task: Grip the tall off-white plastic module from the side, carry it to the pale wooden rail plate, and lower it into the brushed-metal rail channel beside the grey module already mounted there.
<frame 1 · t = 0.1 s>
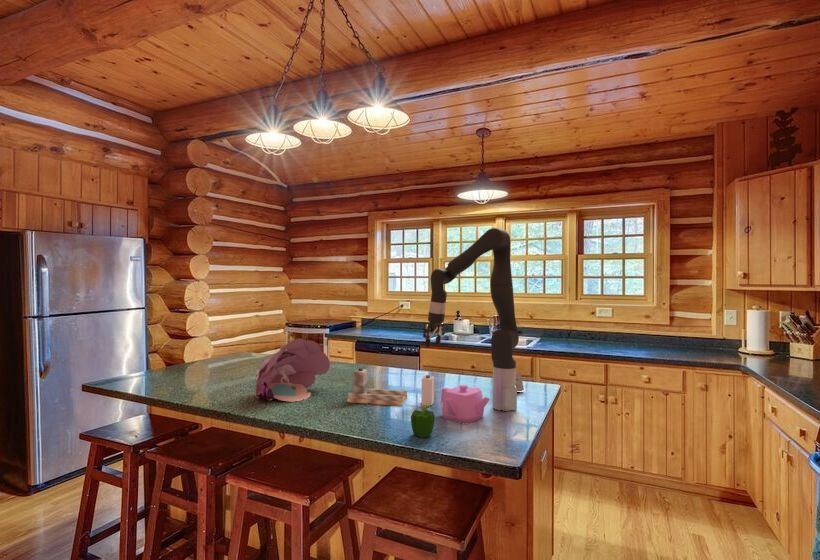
hand: (432, 345, 200), 22 cm above the worktop, tool pointing down, fingers open, 8 cm apart
electrical switch: (512, 392, 205), on the worktop
teakettle: (463, 418, 166), on the worktop
module: (427, 403, 184), on the worktop
bell pepper: (422, 435, 146), on the worktop
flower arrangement: (289, 396, 193), on the worktop
rail plate: (377, 400, 188), on the worktop
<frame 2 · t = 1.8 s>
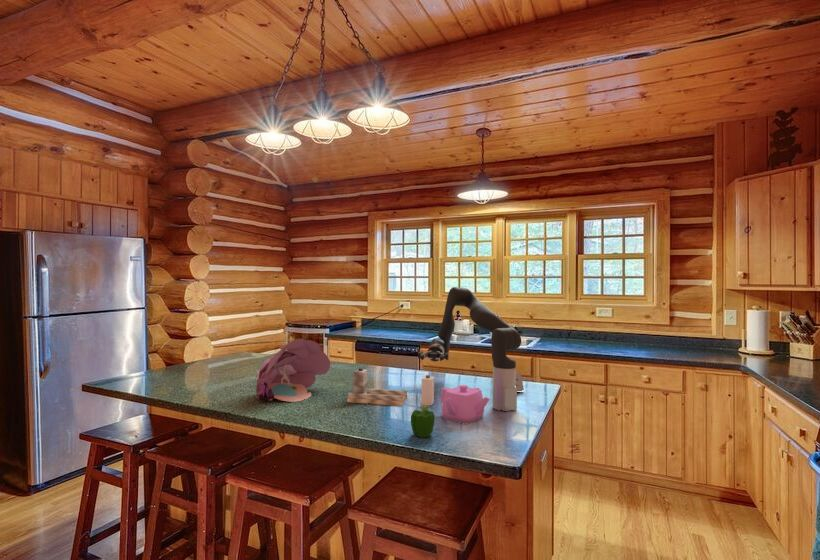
hand: (431, 358, 195), 17 cm above the worktop, tool horizontal, fingers open, 8 cm apart
nothing on the worktop moved.
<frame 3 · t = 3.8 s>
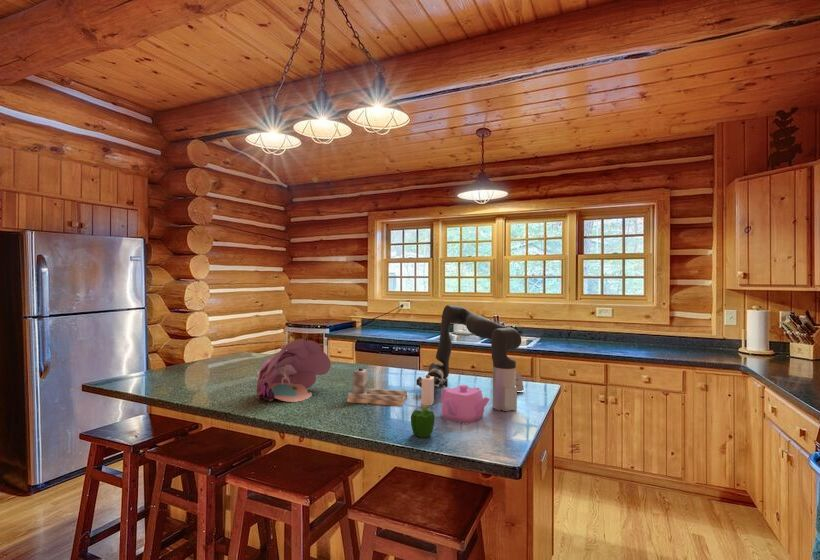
hand: (430, 385, 191), 6 cm above the worktop, tool horizontal, fingers open, 8 cm apart
nothing on the worktop moved.
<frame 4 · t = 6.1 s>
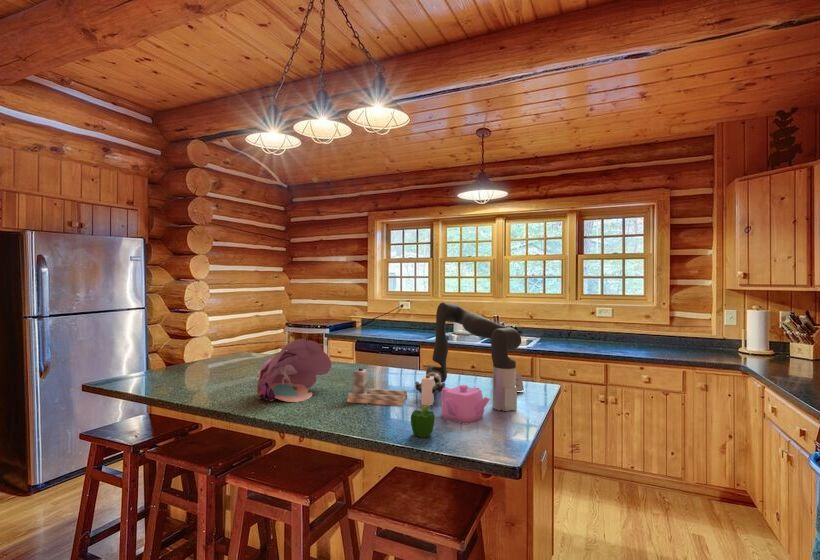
hand: (426, 390, 182), 6 cm above the worktop, tool horizontal, fingers closed on module, 4 cm apart
module: (427, 403, 184), on the worktop, touching gripper
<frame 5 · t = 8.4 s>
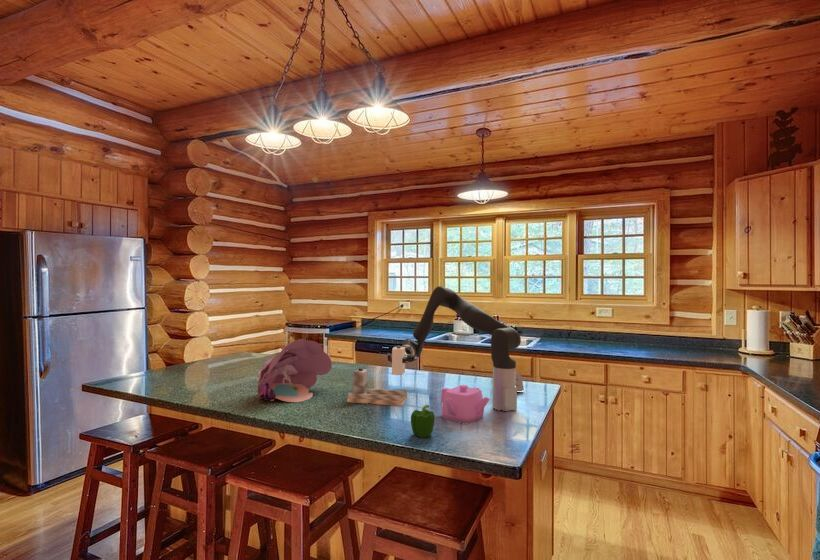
hand: (397, 360, 185), 18 cm above the worktop, tool horizontal, fingers closed on module, 4 cm apart
module: (398, 373, 187), point 12 cm above the worktop, touching gripper
when the fingers open (9 cm above the worktop, at t = 11.1 s): module drops 1 cm, resting on rail plate.
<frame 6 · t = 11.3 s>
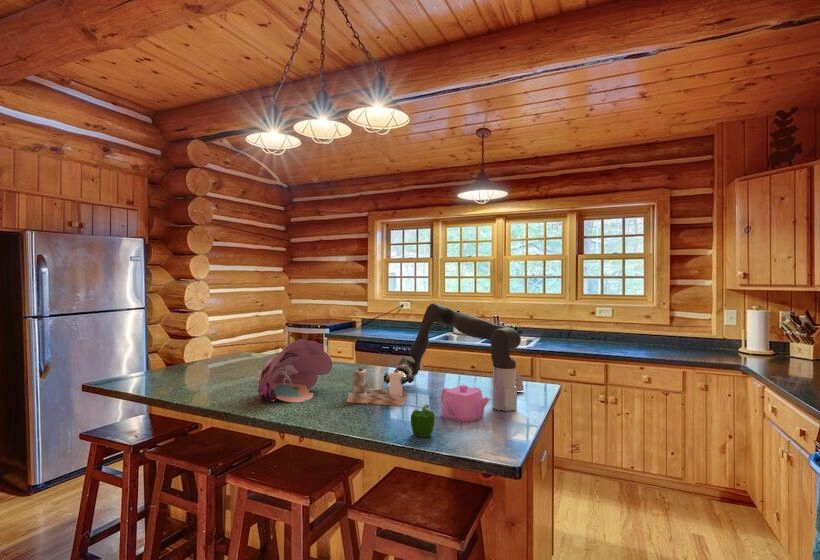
hand: (394, 381, 185), 9 cm above the worktop, tool horizontal, fingers open, 6 cm apart
module: (395, 397, 187), point 2 cm above the worktop, touching rail plate
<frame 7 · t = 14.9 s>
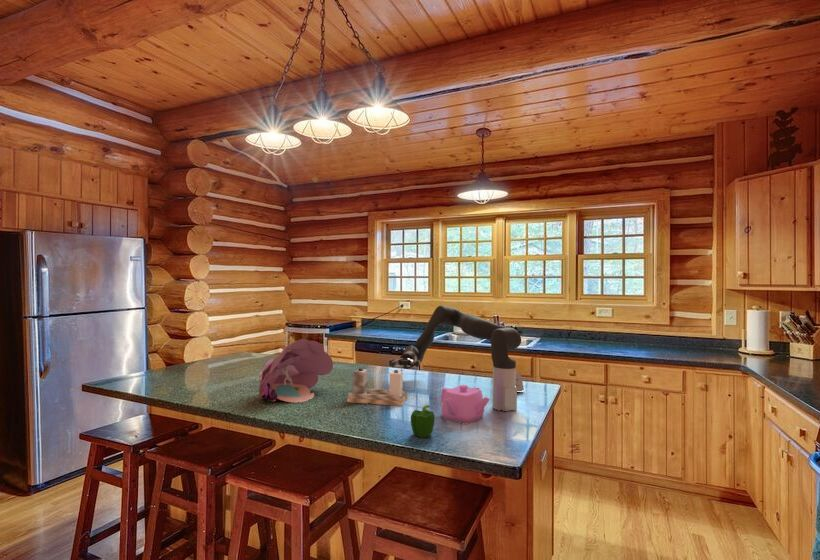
hand: (401, 365, 197), 13 cm above the worktop, tool horizontal, fingers open, 8 cm apart
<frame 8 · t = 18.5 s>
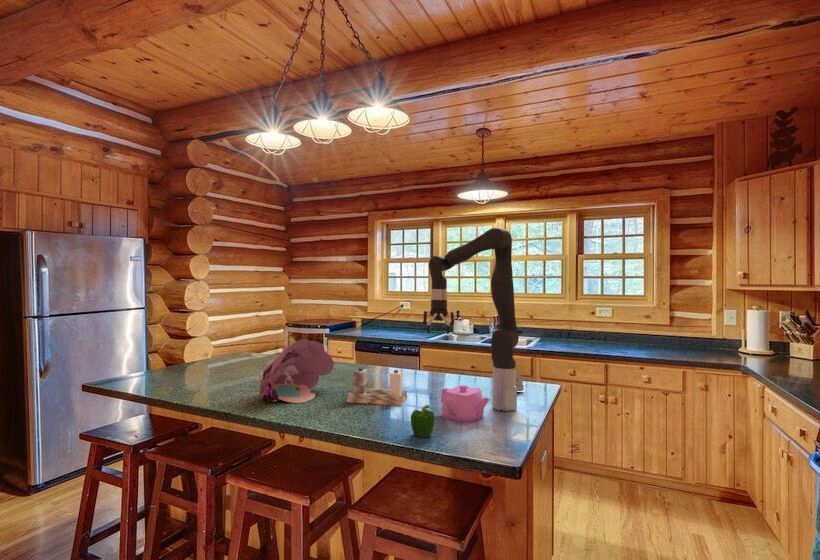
hand: (438, 333, 200), 28 cm above the worktop, tool pointing down, fingers open, 8 cm apart
at the end: module 0.1 cm from the target spot, point 1.5 cm above the worktop; module tilted 0°; the gripper is holding nothing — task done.
